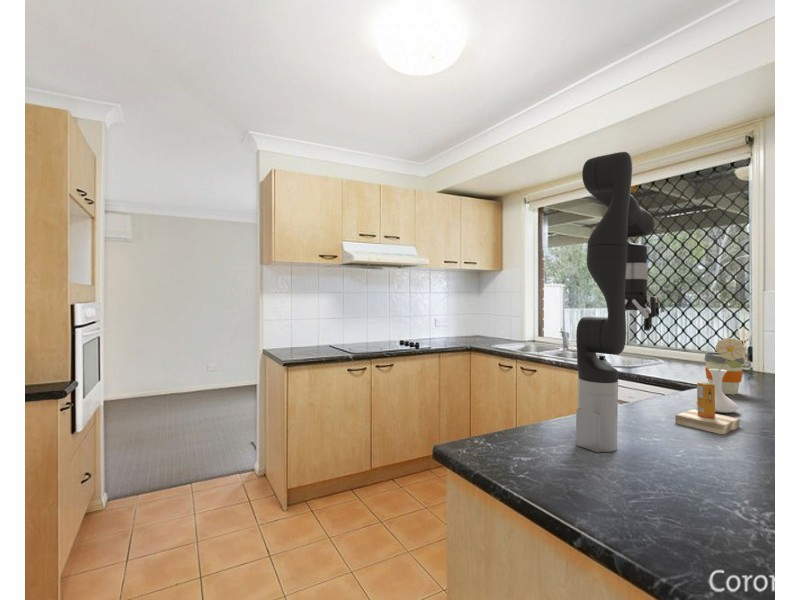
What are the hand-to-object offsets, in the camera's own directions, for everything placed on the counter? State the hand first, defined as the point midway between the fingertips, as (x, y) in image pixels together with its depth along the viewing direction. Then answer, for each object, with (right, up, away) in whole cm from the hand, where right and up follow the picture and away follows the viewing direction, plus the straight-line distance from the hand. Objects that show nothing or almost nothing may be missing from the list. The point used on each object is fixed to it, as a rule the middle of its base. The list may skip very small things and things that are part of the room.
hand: (632, 329), depth 129 cm
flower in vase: (+34, -28, +8) cm, 45 cm away
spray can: (-11, -28, -2) cm, 30 cm away
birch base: (+19, -28, -6) cm, 34 cm away
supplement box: (+18, -26, -6) cm, 32 cm away
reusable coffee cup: (+56, -28, +35) cm, 72 cm away
